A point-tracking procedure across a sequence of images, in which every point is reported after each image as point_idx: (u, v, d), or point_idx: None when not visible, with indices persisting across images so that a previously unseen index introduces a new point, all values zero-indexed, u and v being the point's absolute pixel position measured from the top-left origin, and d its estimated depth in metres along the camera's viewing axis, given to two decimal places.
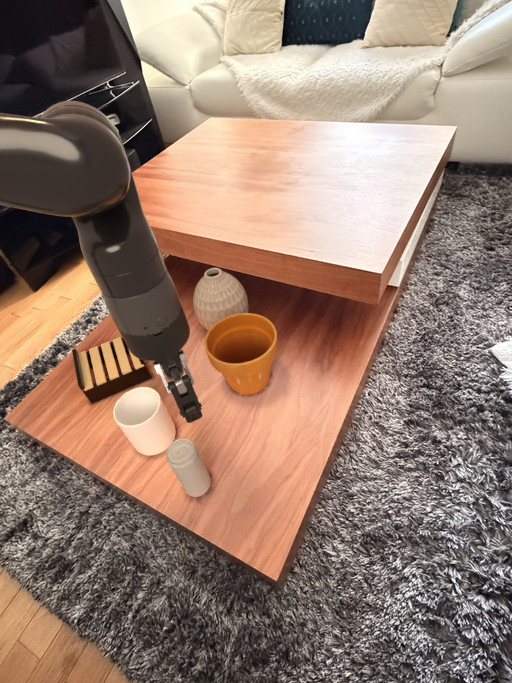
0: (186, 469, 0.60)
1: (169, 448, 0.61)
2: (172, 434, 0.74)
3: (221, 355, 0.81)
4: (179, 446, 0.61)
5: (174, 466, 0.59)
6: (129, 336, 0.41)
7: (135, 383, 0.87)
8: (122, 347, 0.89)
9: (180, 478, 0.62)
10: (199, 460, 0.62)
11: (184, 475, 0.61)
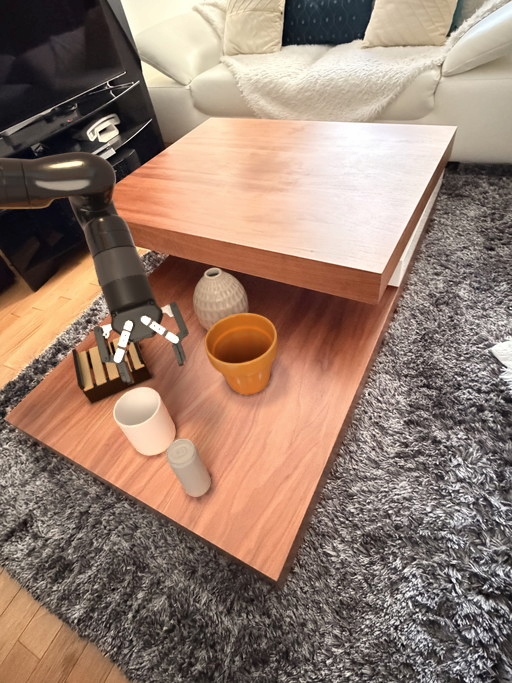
0: (186, 469, 0.60)
1: (169, 448, 0.61)
2: (172, 434, 0.74)
3: (221, 355, 0.81)
4: (179, 446, 0.61)
5: (174, 466, 0.59)
6: None
7: (135, 383, 0.87)
8: None
9: (180, 478, 0.62)
10: (199, 460, 0.62)
11: (184, 475, 0.61)
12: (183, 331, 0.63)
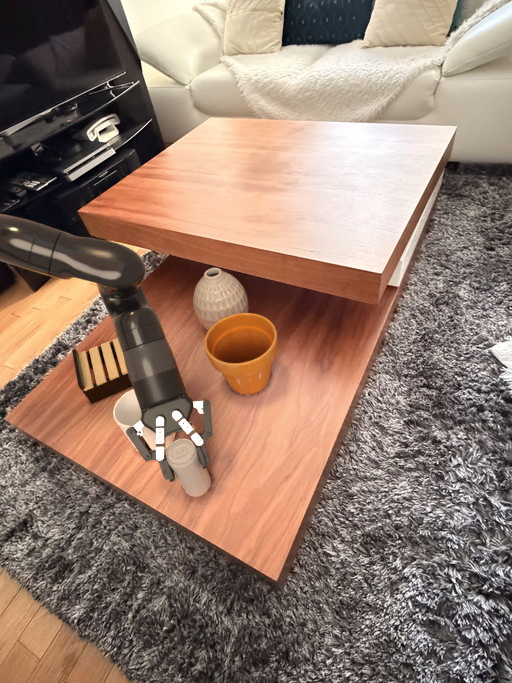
0: (186, 469, 0.60)
1: (169, 448, 0.61)
2: (172, 434, 0.74)
3: (221, 355, 0.81)
4: (179, 446, 0.61)
5: (174, 466, 0.59)
6: None
7: None
8: None
9: (180, 478, 0.62)
10: (199, 460, 0.62)
11: (184, 475, 0.61)
12: (208, 432, 0.61)
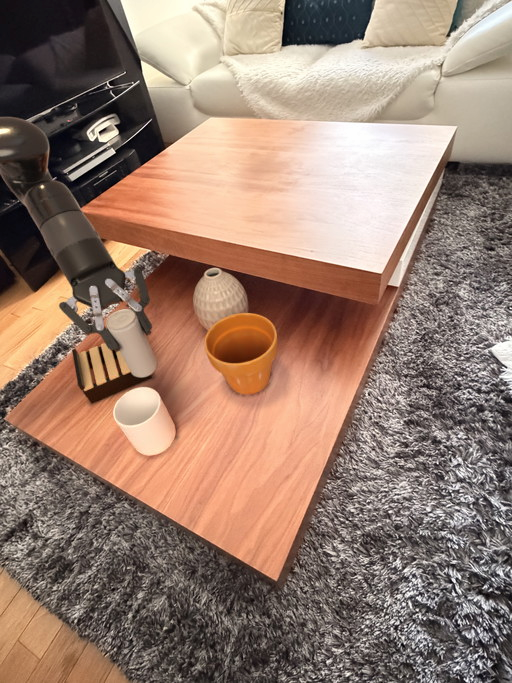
0: (130, 333, 0.60)
1: (108, 319, 0.61)
2: (172, 434, 0.74)
3: (221, 355, 0.81)
4: (118, 316, 0.61)
5: (117, 331, 0.59)
6: None
7: (135, 383, 0.87)
8: None
9: (125, 350, 0.62)
10: (141, 328, 0.62)
11: (129, 342, 0.61)
12: (145, 297, 0.62)
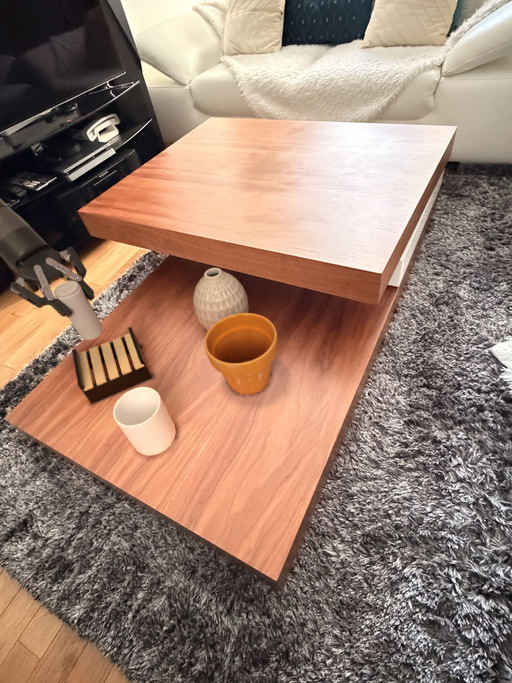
0: (77, 298, 0.73)
1: (55, 291, 0.73)
2: (172, 434, 0.74)
3: (221, 355, 0.81)
4: (63, 287, 0.73)
5: (66, 297, 0.72)
6: None
7: (135, 383, 0.87)
8: (122, 347, 0.89)
9: (76, 314, 0.74)
10: (85, 295, 0.76)
11: (78, 306, 0.74)
12: (82, 269, 0.75)
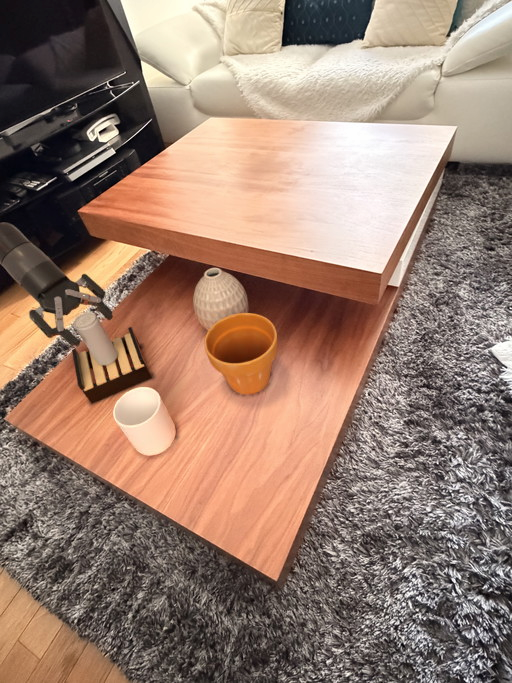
0: (95, 328, 0.78)
1: (75, 322, 0.78)
2: (172, 434, 0.74)
3: (221, 355, 0.81)
4: (82, 318, 0.79)
5: (85, 328, 0.77)
6: None
7: (135, 383, 0.87)
8: (122, 347, 0.89)
9: (93, 343, 0.80)
10: (101, 324, 0.81)
11: (95, 336, 0.79)
12: (101, 292, 0.81)
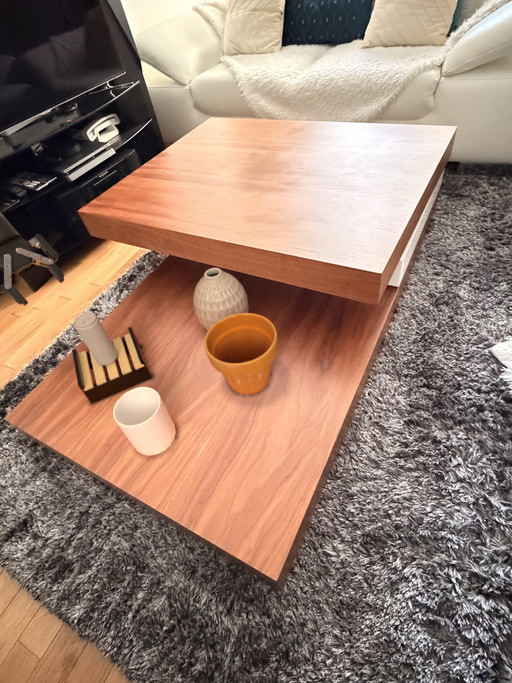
0: (95, 328, 0.79)
1: (75, 322, 0.78)
2: (172, 434, 0.74)
3: (221, 355, 0.81)
4: (82, 318, 0.79)
5: (85, 328, 0.77)
6: None
7: (135, 383, 0.87)
8: (122, 347, 0.89)
9: (93, 343, 0.80)
10: (101, 324, 0.81)
11: (95, 336, 0.79)
12: (54, 253, 0.81)
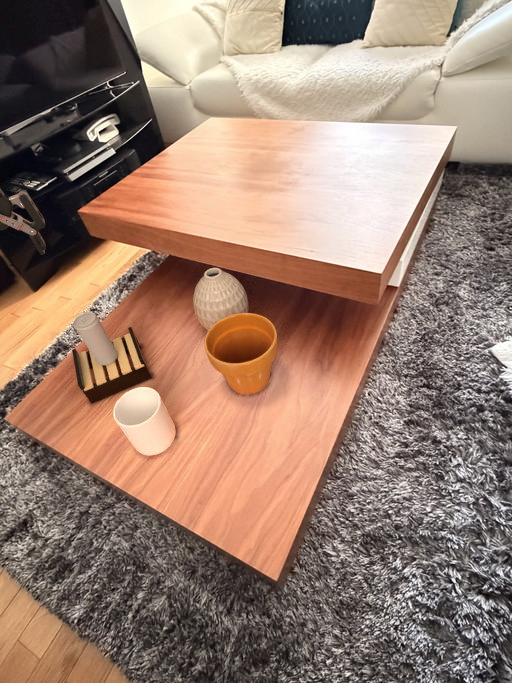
0: (95, 328, 0.79)
1: (75, 322, 0.78)
2: (172, 434, 0.74)
3: (221, 355, 0.81)
4: (82, 318, 0.79)
5: (85, 328, 0.77)
6: None
7: (135, 383, 0.87)
8: (122, 347, 0.89)
9: (93, 343, 0.80)
10: (101, 324, 0.81)
11: (95, 336, 0.79)
12: (39, 224, 0.65)
